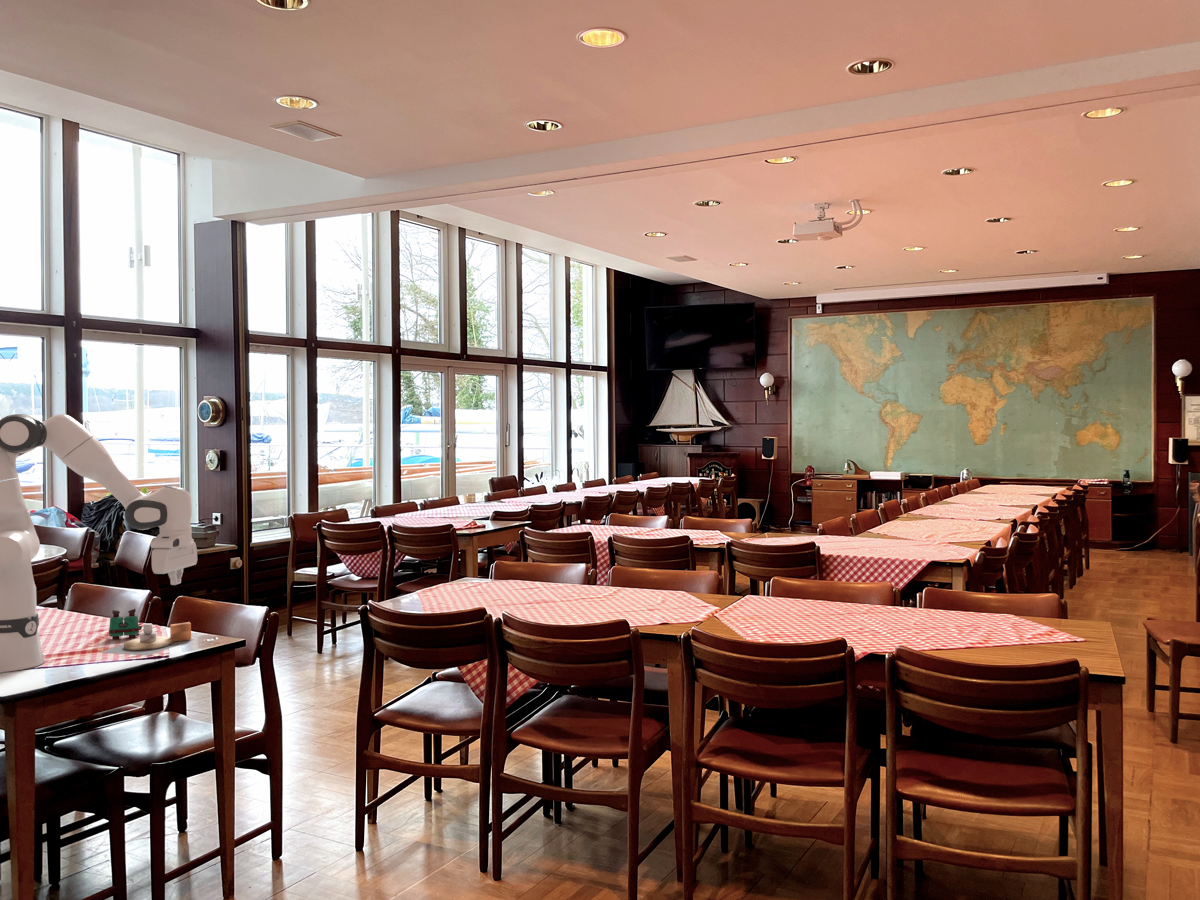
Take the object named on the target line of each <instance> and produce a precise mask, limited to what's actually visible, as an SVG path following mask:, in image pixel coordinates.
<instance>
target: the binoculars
mask: <svg viewBox="0 0 1200 900" xmlns="http://www.w3.org/2000/svg"><path fill="white" fill-rule="evenodd" d="M136 609H137V608H133V609H129V610H128V611H127V613H128V615H127V616H124V617H123V616H120V614H121V611H120V610H114V609H112V614H113V615H112V617H110V618H109V630H108V634H109V635H108V636H109V637H112V641H116V640H120V637H123V636H125V637H126V636H128V639H131V640H133V639H137V638H136V637H138V636H140V634H141V633H140V631H141V630H142V625H140V624H139V617H138V615H136V614H135V613H136Z"/></svg>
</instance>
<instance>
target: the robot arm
mask: <svg viewBox="0 0 1200 900" xmlns="http://www.w3.org/2000/svg"><path fill="white" fill-rule="evenodd" d="M39 447H41V448H42V447H43V448H46V449H47V450H49V451H50V452H52V453H53V454H54V455H55V456H56V457H57V458H58V459H59V460H60V461H61V462H62V463H63V464H64V465H65V466H66V467H68V468H69V469H70V470H72V471H73V472H74V473H76V474H77V475H79V476H81V477H83V478H86V479H90V480H92V481H93V482H97V483H98V484H99V485H101V486H102V487H104V489H106V490H107V491H108V493H110V494H111V495H112V496H113V497H114V498H115V499H116V500H118V502H119V503H121V505H122V506H123V509H124V510H125V511H124V518H125V522H126V524H127V525H129V527H131V528H132V529H135V530H138V531H139V530H140V531H141V530H142V531H144V530H149V529H153V528H157V527H158V528H159V533H158V534H157V535H156V536H155V538H153V539H152V540H151V541H150V548H151V549H152V551H151V570H152V573H153V574H155V575H165V574H167V575H168V578H169V581H170V585H171V586H177V585H179V584H181V583H182V577H183V573H184V569H185V568H189V567H192V566H196V565H197V563H198V549H197V544H196V542H195V539H194V538H193V536H192V534H193V533H192V532H193V531H192V525H191V524H192V523H191V518H192V515H193V513H192V499H191V498H192V497H191V494H190V491H188V490H187V489H186V488H184V487H181V486H175V485H164V486H162V487H161V488H159V489H158V490H156V491H154V492H152V493H150V494H148V493H146V492H143V491H141V490H140V489H139V488H138V487H137V486H135V484H134V483H133V482H131V480H129V479H128V477H126V475H124V474H123V473H122V472H121V471H120V470H119V468H118V466H117V465H116V464H115V462H114V461H113V458H112V457H111V455H110V454H109V452H108V451H107V449H106V447H105V446H104V445H103V444H102V443H101V442H100V440H99V439H98V438H97V437H96V436H95V435H94V434H93V433H92V432H91V431H90V430H88V429H87V428H86V426H84V425H83V424H81V423H80V422H79V421H78V420H76V419H75V418H74V417H72V416H70V415H68V414H65V413H60V414H55V415H52V416H51V417H48V419H46V420H44V421H41V420H39V419H36V418H34V417H33V416H30V415H27V414H23V413H16V414H9V415H6V416H4V417H1V419H0V673H4V672H13V671H21V670H26V669H30V668H34V667H37V666H40V665H42V664H44V663H45V659H44V658H45V655H44V653H43V652H42V645H41V638H40V633H39V630H38V629H39V626H40V624H39V622H40V617H39V613H37V609H38V608H37V586H36V584H35V579H34V574H33V568H32V567H33V566H32V561H33V559H34V558H35V557H36V556H37V555H38V553H39V550H40V546H41V543H40V539H39V536H38V533H37V531H36V528H35V526H34V523H33V521H32V520H33V519H32V518H31V515H30V513H29V511H28V508H27V506H26V502H25V499H24V495H23V489H22V485H21V481H20V478H19V474H18V470H17V465H16V460H17V458H18V457H20V456H23V455H24V454H27V453H28V452H31V451H33V450H35V449H36V448H39Z"/></svg>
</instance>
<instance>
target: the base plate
mask: <svg viewBox="0 0 1200 900" xmlns="http://www.w3.org/2000/svg"><path fill="white" fill-rule="evenodd" d="M152 632H153V623H144V624H143V633H144V634H149V633H152ZM191 641H195V639H194V638H191V639H189V640H182V641H175V642H172V643H171V644H170V645H167V646H164V647H160V648H154V649H146V650H129V649H125V648H124V643H122V644H121V645H118V646H115V647H111V648H108V649H105V650H103V651H100V652H99V653H100V654H101V653H103V654H118V655H133V656H134V655H136V656H138V655H139V656H152V655H154V654H158V653H159V652H160V653H161V652H162V651H166V650H169V649H172V648H173V647H177V646H179V645H182V644H183V645H184V644H186V643H188V642H191Z"/></svg>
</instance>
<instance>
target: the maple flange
mask: <svg viewBox="0 0 1200 900" xmlns="http://www.w3.org/2000/svg"><path fill="white" fill-rule="evenodd" d="M169 627H170V630H169V631H170V632H169V634H170V637H169V636H163V635H160V636H159V635H158V636H157V632H155V631H152V633H149V634H144V632H141V633H139V634H140V635H139V637H137V638H132V639H131V640H127V641H124V643H123V644H124V648H125V649H129V650H146V649H154V648H160V647H164V646H167V645H170V644H171V643H172V642H175V641H182V640H189V639H192V623H191V622H190V621H188V622H182V623H181V622H179V623H173V624H172V623H171V624H170V625H169Z"/></svg>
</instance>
